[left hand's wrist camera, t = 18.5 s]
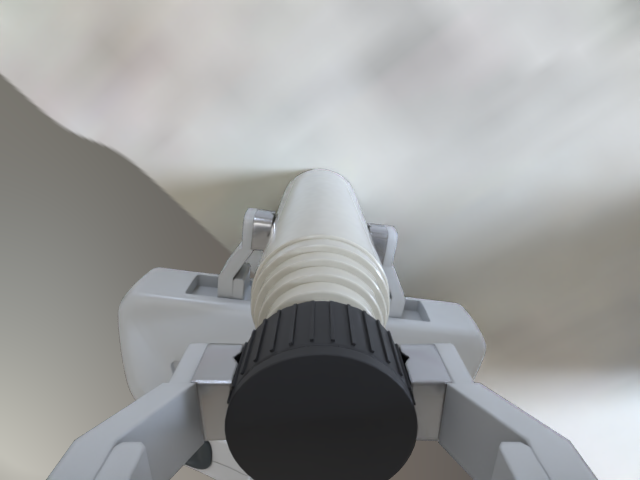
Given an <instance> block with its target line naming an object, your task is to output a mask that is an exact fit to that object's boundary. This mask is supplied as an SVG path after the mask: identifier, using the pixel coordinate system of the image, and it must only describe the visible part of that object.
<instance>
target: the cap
mask: <svg viewBox="0 0 640 480" xmlns="http://www.w3.org/2000/svg"><path fill="white" fill-rule="evenodd" d="M231 388H232V389H233V391H232V395H229V396H228V400H227V404H229V405H228V408H227V412H226V417H225V436H226V441H227V444H228V447H229V450H230V452H231V454H232V456H233V458H234V460H235V461H236V462H237V464H238V465H239V466H240V468H241V469H242V470H243V471H244V472H245V473H246V474H247V475H249V476H250V477H251V478H252V479H253V480H389V479H390V478H391V477H393V476H394V475H395V474H396V473H397V472H398V471H399V470H400V469H401V468H402V466H403V465H404V464H405V463H406V461H407V460H408V458H409V457H410V455H411V453H412V451H413V448H414V446H415V442H416V438H417V431H418V422H417V415H416V411H415V407H414V405H416V403H415V399H414V397H411V394H410V390H412V389H411V386H410V382H409V379H408V376H407V373H406V369H405V366H404V363H403V360H402V357H401V353H400V350H399V347H398V344H397V343H396V344H395V343H394V341H393V338H392V335H391V332H390V331H387V330H386V329H385V328H384V327H383V326H382V324H381V323H380V320H378V319H377V320H376V319H375V318H373V317H372V316H370V315H369V314H367V312H366V311H365V310H363V311H362V310H361V309H359V308H356V307H353V306H350V304H343V303H339V302H334V301H314V300H313V301H307V302H303V303H299V304H297V303H296V304H294V305H292V306H289V307H286V308H283V309H282V310H278V311H277V313H275V314H273V315H272V316H270V317H269V318H267V319H266V318H265V319H264V320H263V322H262V324H261V325H260V326H259V327H258V328H257V329H256V330H255V329H254V330H253V331H252V334H251V337H250V339H249V341H248V342H245V344H244V347H243V351H242V354H241V357H240V361H239V364H238V367H237V371H236V374H235V377H234V380H233V384H232V387H231Z"/></svg>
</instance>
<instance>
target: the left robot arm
mask: <svg viewBox="0 0 640 480" xmlns="http://www.w3.org/2000/svg"><path fill="white" fill-rule="evenodd" d="M243 347H244V344H228V343H210V344H209V343H191V344H190V345H189V346H188V347H187V349H186V351H185V353H184V355H183V356H182V358H181V360H180V362H179V364H178V366H177V368H176V370H175V371H174V373H173V375H172V377H171V379H170V381H169V383H162V384H160V385H159V386H157V387H156V388H154V389H153V390H151V391H150V392H148V393H147V394H145V395H143V396H142V397H140V398H139V399H137V400H136V401H134V402H133V403H131V404H130V405H128V406H126V407H125V408H123V409H122V410H120V411H119V412H117V413H116V414H114V415H113V416H111V417H110V418H108V419H106V420H105V421H103V422H102V423H100V424H99V425H97V426H96V427H94V428H93V429H91V430H89V431H88V432H86V433H85V434H83V435H82V436H80V437H79V438H77V439H76V440H74V442H73V443H72V444H71V446H70V447H69V449H68V450H67V451H66V453H65V454H64V456H63V457H62V458H61V460H60V461H59V463H58V464H57V465H56V467H55V468H54V469H53V471H52V472H51V474H50V475H49V476H48V478H47V479H46V480H170V479H171V478H172V477H173V476H174V475H175V474H176V473H177V471H178V470H179V469H180V468H181V467H182V466H183V465H184V464H185V463H186V462H187V461H188V460H189V459H190V458H191V457H192V455H193V454H194V453H195V452H196V451H197V450H198V449H199V448H200V447H201V446H202V445H203V444H204V441H217V440H226V436H225V417H226V412H227V408H228V405H229V404H227V400H228V396H229V395H232V391H233V389H232V388H231V387H232V384H233V380H234V377H235V374H236V371H237V367H238V364H239V361H240V357H241V354H242V351H243ZM398 347H399V350H400V353H401V357H402V360H403V363H404V366H405V369H406V373H407V376H408V379H409V382H410V386H411V389H412V390H410V394H411V397H414V399H415V403H416V405H414V407H415V411H416V415H417V422H418V431H417V438H416V440H426V441H427V440H428V441H439V444H440V445H441V446H442V447H443V448H444V449H445V450H446V451H447V452H448V453H449V454H450V455H451V456H452V457H453V459H454V460H455V461H456V462H457V463H458V464H459V465H460V466H461V467H462V468H463V469H464V470H465V471H466V472H467V473H468V474H469V475H470V477H471V478H472V479H473V480H598V479H597V478H596V476H595V475H594V474H593V472H592V471H591V469H590V468H589V467H588V465H587V464H586V462H585V461H584V460H583V458H582V457H581V456H580V454H579V453H578V451H577V450H576V449H575V447H574V446H573V445H572V443H571V442H570V441H569V440H568V439H566V438H565V437H563V436H562V435H560V434H559V433H557V432H555V431H554V430H552V429H551V428H549V427H548V426H546V425H545V424H543V423H541V422H540V421H538V420H537V419H535V418H534V417H532V416H531V415H529V414H528V413H526V412H524V411H523V410H521V409H520V408H518V407H517V406H515V405H514V404H512V403H510V402H509V401H507V400H506V399H504V398H503V397H501V396H500V395H498V394H497V393H495V392H493V391H492V390H490V389H489V388H487V387H486V386H484V385H483V384H481V383H474V381H473V379H472V377H471V376H470V374H469V372H468V370H467V368H466V366H465V365H464V363H463V361H462V359H461V357H460V356H459V354H458V352H457V350H456V348H455V346H454V345H453V344H452V343H433V344H398Z"/></svg>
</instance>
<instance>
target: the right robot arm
mask: <svg viewBox="0 0 640 480" xmlns="http://www.w3.org/2000/svg"><path fill="white" fill-rule="evenodd" d="M275 217H276V212H275V211H268V210H261V209H256V208H248V210H247V211H246V213H245V216H244V221H243V233H242V241H241V243H240V244H239V245H238V247H237V248H236V249H235V251H234V252H233V253H232V255H231V256H230V257H229V259H228V260H227V262H226V264H225V265H224V267H223V269H222V271H221V272H220V274H210V273H202V272H194V271H185V270H177V269H169V268H154V269H152V270H150V271H149V272H148V273H146V274H145V275H144V276H143V277H142V278H140V279H139V280H138V281H137V282H136V283H135V284H134V285H133V286H132V287H131V288H130V289H129V291H128V292H127V293H126V294H125V296H124V297H123V299H122V300H121V302H120V305H119V309H118V330H119V340H120V348H121V355H122V361H123V366H124V371H125V376H126V380H127V384H128V387H129V390H130V392H131V394H132V396H133V397H134V399H135V400H137V399H139V398H140V397H142V396H143V395H145V394H147V393H148V392H150V391H151V390H153V389H154V388H156V387H157V386H159V385H160V384H162V383H169V381H170V379H171V377H172V375H173V373H174V371H175V370H176V368H177V366H178V364H179V362H180V360H181V358H182V356H183V355H184V353H185V351H186V349H187V347H188V346H189V345H190V344H191V343H209V344H210V343H228V344H245V342H248V341H249V339H250V337H251V334H252V331H253V330H254V329H255V325H254V323H253V319H252V315H251V287H252V282H253V279H252V278H250V268H251V265H250V264H248V263H245V261H246V260H247V259H248V257H249V256H250V255H251V253H252V252H253V251H254V250H262V251H264V248H265V245H266V242H267V239H268V237H269V234H270V231H271V228H272V225H273V222H274V220H275ZM367 226H368V229H369V231H370V234H371V237H372V239H373V242H374V245H375V248H376V250H377V253H378V256H379V258H380V261H381V264H382V266H383V269H384V272H385V274H386V277H387V281H388V285H389V292H390V297H389V299H390V312H389V317H388V321H387V324H386V328H385V329H386V330H387V331H390V332H391V335H392V338H393V341H394V343H395V344H396V343H397V344H433V343H452V344H453V345H454V346H455V348H456V350H457V352H458V354H459V356H460V357H461V359H462V361H463V363H464V365H465V366H466V368H467V370H468V372H469V374H470V376H471V377H472V379H473V380H474V378H475V376H476V374H477V372H478V370H479V368H480V365H481V363H482V361H483V358H484V355H485V352H486V343H485V340H484V337H483V335H482V333H481V331H480V330H479V328H478V326H477V324H476V323H475V321H474V320H473V319H472V317H471V316H470V315H469V314H468V312H467V311H466V310H465V308H464V307H463V306H461V305H460V304H458V303H453V302H444V301H436V300H427V299H419V298H411V297H405V295H404V292H403V290H402V287H401V284H400V281H399V279H398V276H397V273H396V271H395V268H394V265H393V260H394V255H395V251H396V246H397V241H398V233H397V231H396V229H395V228H394V226H387V225H379V224H371V223H367ZM255 330H256V329H255ZM184 466H187V467H189V468H192V469H194V470H196V471H199V472H201V473H203V474H205V475H207V476H209V477H211V478H213V479H215V480H253V479H252V478H251V477H250V476H249V475H247V474H246V473H245V472H244V471H243V470H242V469H241V468H240V466H239V465H238V464H237V462H236V461H235V460H234V458H233V456H232V454H231V452H230V450H229V447H228V444H227V441H226V440H217V441H204V444H203V445H202V446H201V447H200V448H199V449H198V450H197V451H196V452H195V453H194V454H193V455H192V457H191V458H190V459H189V460H188V461H187V462H186V463H185V464H184Z"/></svg>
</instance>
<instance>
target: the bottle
mask: <svg viewBox="0 0 640 480" xmlns="http://www.w3.org/2000/svg"><path fill="white" fill-rule="evenodd" d="M389 297H390V292H389V285H388V281H387V277H386V274H385V272H384V269H383V266H382V264H381V261H380V258H379V256H378V253H377V250H376V248H375V245H374V242H373V239H372V237H371V234H370V231H369V229H368V226H367V223H366V221H365V218H364V215H363V212H362V210H361V207H360V204H359V202H358V199H357V196H356V194H355V191H354V189H353V187H352V186H351V184H350V183H349V182H348V181H347V180H346V179H345V178H344V177H343V176H341V175H340V174H338V173H336V172H333V171H330V170H326V169H314V170H309V171H306V172H304V173H301V174H300V175H298V176H297V177H295V178H294V179H293V180H292V181H291V182H290V183H289V185H288V186H287V188H286V190H285V192H284V194H283V197H282V200H281V203H280V206H279V208H278V211H277V214H276V217H275V220H274V222H273V225H272V228H271V231H270V234H269V237H268V239H267V242H266V245H265V248H264V251H263V253H262V256H261V259H260V262H259V265H258V268H257V270H256V273H255V276H254V279H253V282H252V287H251V315H252V319H253V323H254V325H255V329H257V328H258V327H259V326H260V325H261V324H262V322H263V320H264V319H265V318H266V319H267V318H269V317H270V316H272V315H273V314H275V313H277V311H278V310H282V309H283V308H286V307H289V306H292V305H294V304H296V303H297V304H299V303H303V302H307V301H313V300H314V301H334V302H339V303H343V304H350V306H353V307H356V308H359V309H361V310H362V311H363V310H365V311H366V312H367V314H369V315H370V316H372V317H373V318H375V319H376V320H377V319H378V320H380V323H381V324H382V326H383V327H384V328H386V324H387V321H388V317H389V312H390V299H389Z"/></svg>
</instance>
